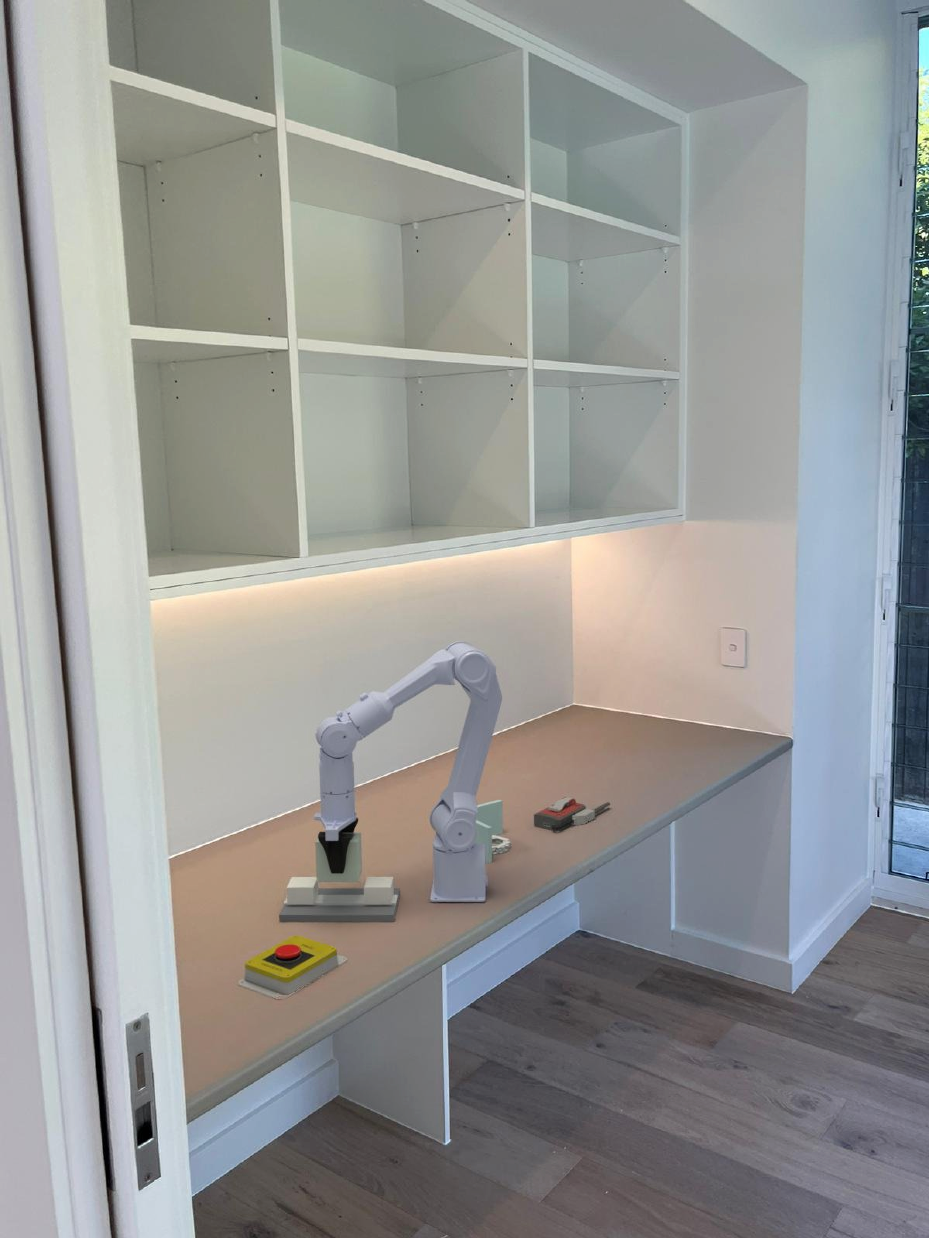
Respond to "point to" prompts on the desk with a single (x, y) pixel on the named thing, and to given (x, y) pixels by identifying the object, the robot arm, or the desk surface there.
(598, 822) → the desk surface
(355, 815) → the robot arm
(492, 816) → the l-shaped corner panel
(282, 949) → the emergency button
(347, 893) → the rail board
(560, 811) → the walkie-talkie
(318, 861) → the block
